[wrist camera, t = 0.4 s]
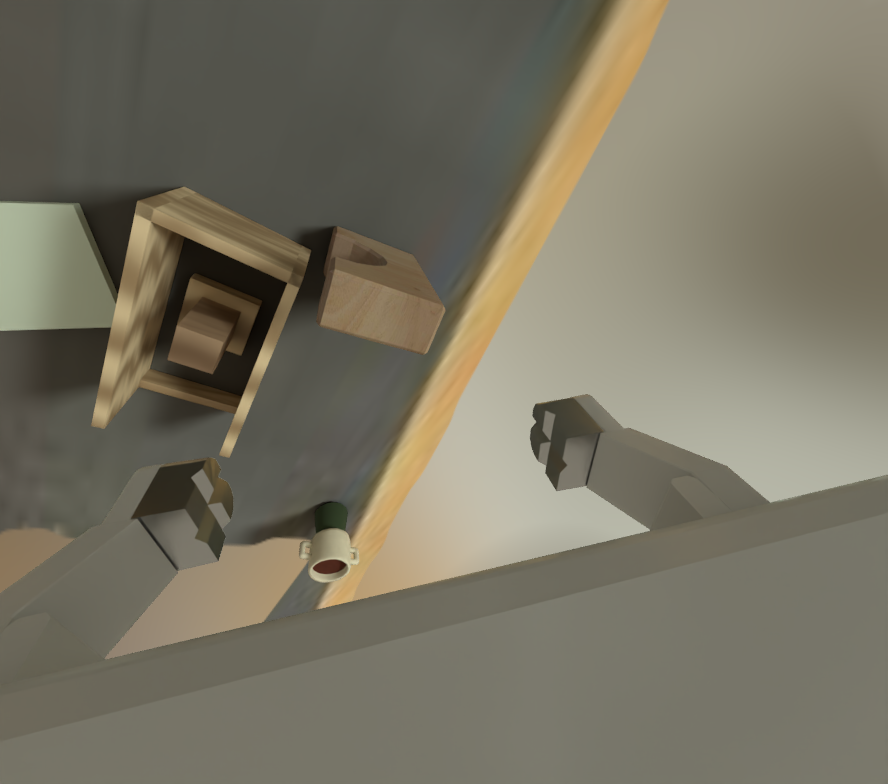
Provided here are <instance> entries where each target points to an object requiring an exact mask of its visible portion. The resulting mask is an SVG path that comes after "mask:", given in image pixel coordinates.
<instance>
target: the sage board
mask: <svg viewBox="0 0 888 784" xmlns="http://www.w3.org/2000/svg"><path fill="white" fill-rule="evenodd" d="M117 298H118V294H117V291H116V289H115V287H114V284H113V282H112V279H111V277H110V275H109V272H108V270H107V268H106V265H105V263H104V261H103V258H102V256H101V254H100V251H99V249H98V246H97V244H96V242H95V239H94V237H93V235H92V232H91V230H90V228H89V225H88V223H87V220H86V218H85V216H84V213H83V211H82V209H81V206H80V204H79V203H55V202H22V201H0V331H5V330H38V329H72V328H106V327H112V322H113V317H114V313H115V308H116V303H117Z"/></svg>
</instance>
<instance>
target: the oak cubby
mask: <svg viewBox="0 0 888 784" xmlns="http://www.w3.org/2000/svg"><path fill="white" fill-rule="evenodd" d="M185 237H187V238H189V239H191V240H193V241H196V242H198V243H200V244H202V245H204V246H207V247H209V248H211V249H213V250H216V251H218V252H220V253H222V254H224V255H227V256H229V257H231V258H233V259H236V260H238V261H240V262H242V263H244V264H247V265H249V266H251V267H253V268H256V269H258V270H260V271H262V272H264V273H267V274H269V275H271V276H273V277H275V278H278V279H280V280H282V281H284V282H287V285H286V287H285V290H284V292H283V295H282V297H281V300H280V302H279V305H278V307H277V310H276V312H275V315H274V318H273V320H272V323H271V325H270V328H269V330H268V333H267V335H266V338H265V340H264V343H263V345H262V348H261V350H260V353H259V355H258V358H257V360H256V363H255V365H254V368H253V370H252V373H251V375H250V378H249V380H248V383H247V385H246V388H245V390H244V393H243V396H239V395H235V394H232V393H229V392H225V391H222V390H219V389H216V388H212V387H209V386H206V385H202V384H199V383H196V382H192V381H189V380H186V379H182V378H179V377H176V376H173V375H169V374H166V373H163V372H159V371H156V370H153V369H150V366H151V362H152V359H153V355H154V351H155V347H156V344H157V340H158V336H159V332H160V329H161V325H162V321H163V317H164V314H165V310H166V306H167V302H168V298H169V295H170V291H171V287H172V283H173V280H174V276H175V272H176V268H177V265H178V261H179V257H180V253H181V250H182V246H183V242H184V238H185ZM310 253H311V250H310V249H308V248H306V247H304V246H302V245H300V244H298V243H296V242H294V241H292V240H290V239H288V238H286V237H284V236H282V235H280V234H278V233H276V232H274V231H272V230H270V229H268V228H266V227H264V226H262V225H260V224H258V223H256V222H254V221H252V220H250V219H248V218H246V217H244V216H242V215H240V214H238V213H236V212H234V211H232V210H230V209H228V208H226V207H224V206H222V205H220V204H218V203H216V202H214V201H212V200H210V199H208V198H206V197H204V196H202V195H200V194H198V193H196V192H194V191H192V190H190V189H188V188H186V187H182V188H178V189H175V190H172V191H169V192H165V193H162V194H159V195H155V196H152V197H149V198H146V199H142V200H139V201H137V206H136V211H135V215H134V220H133V225H132V230H131V235H130V240H129V245H128V249H127V254H126V259H125V264H124V269H123V274H122V279H121V283H120V288H119V293H118V298H117V303H116V308H115V313H114V317H113V322H112V327H111V332H110V337H109V342H108V347H107V351H106V356H105V361H104V366H103V371H102V376H101V381H100V385H99V390H98V395H97V400H96V405H95V410H94V415H93V419H92V424H91V426H95V427H99V428H105V427H106V426H107V425H108V424H109V422H110V421H111V420H112V419H113V417H114V416H115V415H116V414H117V413H118V411H119V410H120V409H121V408H122V407H123V405H124V404H125V403H126V402H127V400H128V399H129V398H130V397H131V396H132V394H133V393H134V392H135V391H136V389H137V388H138V387H141V388H145V389H148V390H152V391H155V392H159V393H162V394H166V395H170V396H173V397H177V398H180V399H184V400H187V401H191V402H194V403H198V404H202V405H205V406H209V407H212V408H216V409H219V410H223V411H226V412H230V413H234V414H235V416H234V418H233V421H232V424H231V426H230V429H229V431H228V434H227V436H226V439H225V442H224V444H223V447H222V449H221V452H220V454H219V455H220V456H224V457H230V455H231V452H232V450H233V447H234V445H235V442H236V440H237V438H238V435H239V433H240V430H241V428H242V426H243V423H244V421H245V418H246V416H247V413H248V411H249V409H250V406H251V404H252V401H253V399H254V397H255V394H256V392H257V389H258V387H259V384H260V382H261V380H262V377H263V375H264V372H265V370H266V368H267V365H268V363H269V360H270V358H271V355H272V353H273V351H274V348H275V346H276V343H277V341H278V339H279V336H280V334H281V331H282V329H283V326H284V324H285V322H286V319H287V317H288V314H289V312H290V310H291V307H292V305H293V302H294V300H295V297H296V295H297V293H298V290H299V288H300V285H301V283H302V281H303V278H304V275H305V271H306V268H307V264H308V260H309V257H310ZM202 297H205V298H207V299H210V300H212V301H215V302H217V303H220V304H222V305H225V306H228V307H230V308H233V309H235V310H238V311H240V312H241V314H240V317H239V320H238V322H237V325H236V328H235V331H234V334H233V337H232V339H231V342H230V343H229V345H228V347H227V349H226V351H229V352H232V353H235V354H238V355H242V353H243V351H244V348H245V346H246V343H247V340H248V338H249V335H250V332H251V330H252V327H253V324H254V322H255V319H256V316H257V314H258V311H259V308H260V306H261V303H262V301H261V300H259V299H257V298H254V297H252V296H250V295H247V294H245V293H242V292H240V291H238V290H235V289H233V288H230V287H228V286H226V285H223V284H221V283H218V282H216V281H214V280H211V279H209V278H206V277H204V276H202V275H199V274H197V273H195V274H194V275H193V276H192V277H191V278H190V281H189V284H188V288H187V291H186V295H185V298H184V302H183V305H182V309H181V312H180V316H179V319H178V323H177V325H178V324H179V323H180V322H181V321H182V319H183V318H184V317H185V316H186V315H187V314H188V313H189V312H190V310H191V309H192V308H193V307H194V306H195V305H196V304H197V303H198V301H199V300H200V299H201V298H202ZM175 331H176V330H175Z"/></svg>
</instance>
